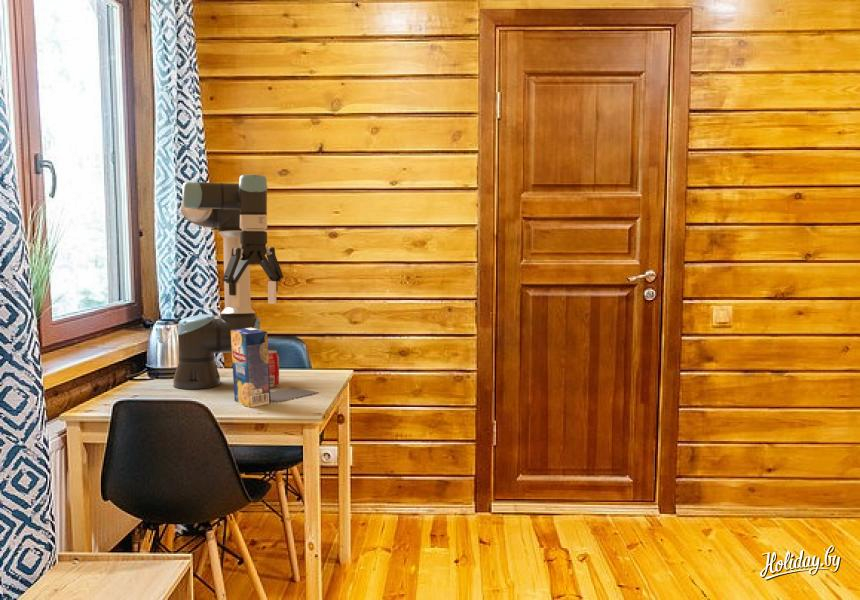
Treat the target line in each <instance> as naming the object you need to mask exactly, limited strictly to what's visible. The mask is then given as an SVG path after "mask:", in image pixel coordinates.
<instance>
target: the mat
mask: <svg viewBox="0 0 860 600" xmlns="http://www.w3.org/2000/svg"><path fill="white" fill-rule="evenodd" d="M316 393H318V394H319V393H320V392H318V391H314V390H308V389H304V388H299V387H288V388H283V389H278V390H274V391H270V399H271V401H272V402H271V403H275V402H276V404H278V402H279V403H283V402H287V401H291V400H290V399H292V400H295V399H294V398H296V399H300V398H299V397H301V398H304V397H303V396H305V397H308V396H307V395H309V396H313V395H312V394H314V395H317V394H316ZM282 401H283V402H282Z"/></svg>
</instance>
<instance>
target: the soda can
mask: <svg viewBox="0 0 860 600" xmlns="http://www.w3.org/2000/svg"><path fill="white" fill-rule="evenodd" d="M268 359H269V379H270V389H273V388H276V387H278V386H279V383H280V357H279V354H278V351H277V350H276V349H268Z"/></svg>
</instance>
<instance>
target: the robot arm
mask: <svg viewBox="0 0 860 600" xmlns="http://www.w3.org/2000/svg"><path fill="white" fill-rule="evenodd" d="M267 181H268V179H267V176H265V175H263V174H242V175H239V183H233V182H232V183H231V182H206V181H205V182H202V181H199V182H198V181H186V182H184V183H183V184H182V202H181V205H180V209H181V214H182V215H183V217H184V218H185V219H186V220H187V221H188V222H190V223H192V224H194V225H197V226H200V227H204V228H214V229H215V228H217V229H218V230H217V231H218V233H217V234H218V235H220V236H221V237H222V239H223V241H222V242H223V243H222V245H223V276H222V282H224V283H223V285H224V291H223V292H224V309H223V310H221V312H220V315H219V316H220V318H215V316H214V314H210V313H209V314H198V315H192V316H188V317H185V318H181V320H179V321H178V323H177V333H176V334H177V336H178V337H177V338H178V339H177V340H178V341H177V347H178V349H177V351H178V352H177V354H178V357H177V358H178V360H177V361H178V363H177V366H176V370H175V373H174V377H173V379H172V382H173V383H172V386H173V387H174V388H177V389H185V390H200V389H202V390H203V389H208V388H209V389H210V388H215V387H218V386H219V385H220V384H221V375H220V372H219V369H218V367H217V364H216V359H215V357H216V356H215V355H216V354H223V353H225V354H226V353H232V346H231V330H236V329H244V328H251V327H252V328H255V329H259V330H261V319H260V317H258V316H256V312H255V310H254V309H252V306H251V304H252V303H251V268H250V265H251V264H259V265H260V266H261V269H263V271H264V273H265V274H266V276H267V277H268V278H269V280H268V281H267V303H268V304H270V305H271V304H273V305H277V292H278V291H279V289H278V285H279V282H280V281H281V280H282V279H283V278H284V274H283V271H282V269H281V267H280V266H281V265H280V264H279V263H280V262H279V261H278V258H277V256H276V249H275V247H273V246H272V247H271V246H266V245H267V244H268V232H267V231H266V230H267V229H268V208H267V207H268V205H267V204H268V184H267Z"/></svg>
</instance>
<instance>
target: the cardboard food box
mask: <svg viewBox="0 0 860 600" xmlns="http://www.w3.org/2000/svg"><path fill="white" fill-rule="evenodd" d="M268 342H269V341H268V331H266V330H262V329H260V330H259V329H255V328H252V327H251V328H244V329H236V330H231V346H232V352H231V361H232V376H233V377H232V379H233V394H234V401H235V402H237V403H239V404H241V405H243V404H244V406H245V405H246V406H245V407H248V408H254V407H259V406H264V405H270V404H271V403H272V402H271V399H270V392H271V388H270V379H269V359H268V350H269V343H268Z"/></svg>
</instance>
